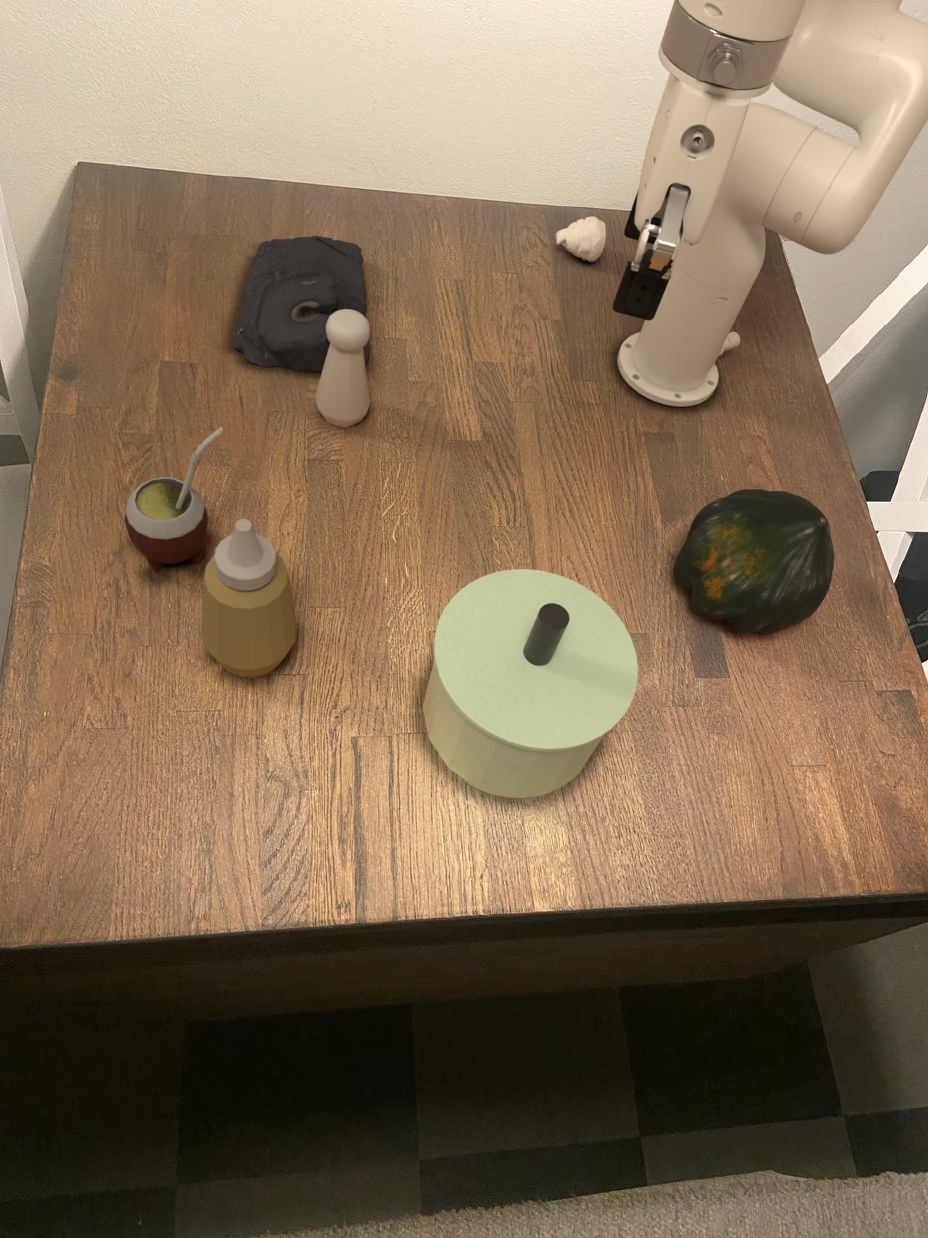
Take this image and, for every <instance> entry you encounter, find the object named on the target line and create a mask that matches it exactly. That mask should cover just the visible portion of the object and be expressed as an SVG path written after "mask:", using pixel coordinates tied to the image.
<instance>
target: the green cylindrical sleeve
mask: <svg viewBox="0 0 928 1238" xmlns="http://www.w3.org/2000/svg"><path fill="white" fill-rule="evenodd" d="M422 712H423V717H424V721H425V727H426V732H427V736H428V740H429V742H430V743H431V745H432V746H433V747H434V749H435V750H436V752H437V753H438V755H439V756H440V758H441V759H442V760H443V762H444V763H445V765H446V767H447V768H448V769H450V771H452V772H454V773H455V774H456V775H458V776H459V777H461V778H462V779H464V780H465V784H468V785H469V786H471V787H472V788H475V789H477V790H478V791H481V792H484V793H486V794H490V795H493V796H496V797H502V798H506V799H507V798H508V799H529V798H535V797H541V796H543V795H547V794H550V793H552V792H555V791H556V790H558V789H560V788H563V787H564V786H565V785H567V784H568V783H570V782H571V781H572V780H573V779H575V778H576V777H578V776H579V774H580V773H581V771H582V770H583V768H584V767H585V765H586V764H587V762H588V761H589V759H590V758H591V756H592V755H593V753H594V751H595V750H596V748H598V745H599V744H600V742H601V741H602V739H603V738H604V736H603V737H601V738H600V739H598V740H596V741H594V742H592V743H590V744H588V745H585V746H582V747H579V748H576V749H570V750H565V751H554V752H544V751H532V750H527V749H522V748H518V747H515V746H512V745H508V744H506V743H503V742H501V741H499V740H497V739H494V738H492V737H491V736H489V735H487V734H486V733H484V732H482V731H481V730H479V729H478V728H477V727H475V726H474V725H473V724H471V723H470V722H469V721H468V720H467V719H466V718H465V717H464V716H463V715H462V714H461V713H460V712H459V711H458V710H457V709H456V707H455V706H454V705H453V704H452V702H451V701H450V699H449V698H448V696H447V694H446V693H445V691H444V689H443V687H442V685H441V683H440V680H439V678H438V674H437V671H436V668H435V662H434V661H433V664H432V667H431V672H430V675H429V679H428V683H427V686H426V691H425V694H424V699H423V703H422Z"/></svg>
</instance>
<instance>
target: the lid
mask: <svg viewBox="0 0 928 1238" xmlns="http://www.w3.org/2000/svg"><path fill="white" fill-rule="evenodd" d="M434 662H435V668H436V671H437V674H438V678H439V680H440V683H441V685H442V687H443V689H444V691H445V693H446V694H447V696H448V698H449V699H450V701H451V702H452V704H453V705H454V706H455V707H456V709H457V710H458V711H459V712H460V713H461V714H462V715H463V716H464V717H465V718H466V719H467V720H468V721H469V722H470V723H471V724H473V725H474V726H475V727H477V728H478V729H479V730H481V731H482V732H484V733H486V734H487V735H489V736H491V737H492V738H494V739H497V740H499V741H501V742H503V743H506V744H508V745H512V746H515V747H518V748H522V749H527V750H532V751H544V752H554V751H565V750H570V749H576V748H579V747H582V746H585V745H588V744H590V743H592V742H594V741H596V740H598V739H600V738H601V737H603V738H604V736H605V735H607V734H608V733H610V732H611V731H612V730H613V729H614V728H615V727H616V726H617V725H618V724H619V723H620V721H621V720H622V719H623V718H624V716H625V715H626V714H627V712H628V711H629V709H630V707H631V704H632V703H633V701H634V698H635V695H636V692H637V688H638V681H639V663H638V656H637V652H636V648H635V645H634V642H633V640H632V637H631V634H630V632H629V631H628V629H627V627H626V626H625V624H624V622H623V620H622V619H621V618H620V617H619V615H618V614H617V612H616V611H615V610H614V609H613V608H612V607H611V606H610V605H609V604H608V603H607V602H606V601H605V600H604V599H602V598H601V597H600V596H599V595H598V594H597V593H595V592H593V591H592V590H591V589H589V588H588V587H586V586H584V585H582V584H581V583H579V582H577V581H575V580H573V579H570V578H568V577H566V576H564V575H560V574H557V573H553V572H551V571H550V572H549V571H544V570H540V569H530V568H513V569H506V570H499V571H495V572H491V573H489V574H485V575H484V576H480V577H479V578H477V579H475V580H473V581H471V582H469V583H468V584H466V585H465V586H463V588H461V589H459V591H458V592H457V593H455V594H454V596H452V597H451V599H450V600H449V601H448V603H447V604H446V605H445V607H444V609H443V610H442V613H441V615H440V617H439V618H438V622H437V625H436V628H435V633H434V638H433V663H434Z"/></svg>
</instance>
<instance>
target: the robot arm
mask: <svg viewBox="0 0 928 1238" xmlns="http://www.w3.org/2000/svg"><path fill="white" fill-rule="evenodd" d="M903 1H904V0H674V1H673V3H672V7H671V10H670V13H669V17H668V18H667V19H668V20H667V23H666V26H665V29H664V32H663V35H662V40H661V41H660V45H659V48H658V51H657V53H658V54H657V56H658V58H659V61H660V62H661V65H662V66H663V67H664V69H665V70H666V71H667V72H669V75H668V78H667V79H666V83H665V87H664V88H663V89H664V90H663V91H662V96H661V99H660V101H659V105H658V108H657V110H656V111H657V112H656V114H655V117H654V121H653V123H652V127H651V130H650V134H649V138H648V141H647V144H646V149H645V153H644V158H643V161H642V167H641V171H640V172H641V173H640V178H639V184H638V189H637V192H636V194H635V196H634V197H635V198H634V199H633V203H632V205H631V209H630V212H629V215H628V218H627V221H626V224H625V227H624V231H623V235H624V237H626V238H628V239H632V240H634V241H637V244H636V247H635V251H634V255H633V258H632V261H630V260H628V261H627V264H626V266H625V269H624V271H623V274H622V278H621V280H620V283H619V285H618V289H617V290H616V293H615V297H614V300H613V302H612V303H613V304H612V310H613V312H615V313H618V314H622V315H626V316H628V317H633V318H637V319H641V320H644V322H643V324H642V327H641V329H640V331H639V332H636V333H633V334H631V335H630V336H628V337H627V338H626V339H625V340H624V341H623V342H622V343H621V345H620V348H619V351H618V353H617V358H616V361H617V367H618V370H619V373H620V375H621V377H622V379H624V381H625V382H626V383H627V384H628V385H629V386H630V387H631V388H632V389H633V390H634V391H636V392H637V393H638V394H640V395H641V396H643V397H645V398H646V399H648V400H651V401H652V402H655V403H657V404H661V405H664V406H671V407H679V408H681V407H692V406H696V405H700V404H702V403H704V402H705V401H707V400H708V399H709V398H710V397H712V395H713V394H714V392H715V390H716V388H717V386H718V383H719V377H720V376H719V371H718V366H717V365H716V362H717V359H718V357H720V356H722V355H723V353H724V352H727V351H729V350H732V349H734V348H737V347H738V346H739V345H740V344H741V337H740V335H739V333H737V332H736V331H731V329H732V327H733V325H734V323H735V322H736V320H737V317H738V315H739V314H740V312H741V309H742V308H743V305H744V303H745V302H746V299H747V298H748V296H749V293H750V292H751V289H752V287H753V285H754V283H755V282H756V280H757V278H758V276H759V273H760V271H761V270H762V267H763V264H764V261H765V255H766V248H767V247H766V244H767V243H766V232H765V231H766V230H765V228H766V229H767V230H769V231H771V232H774V233H776V234H778V235H780V236H782V237H784V238H786V239H787V240H790V241H791V242H793V243H795V244H798V245H799V246H802V247H804V248H806V249H808V250H811V251H813V252H815V253H818V254H820V255H821V254H822V255H835V254H838V253H840V252H842V251H844V250H845V249H846V248H847V247H849V246H850V244H851V243H852V242H853V241H854V240H855V238H856V237H857V236H858V235H859V234H860V233H861V230H862V229H863V228H864V226H865V225H866V223H867V221H868V220H869V218H870V216H871V215H872V213H873V212H874V210H875V209H876V207H877V205H878V203H879V202H880V200H881V199H882V197H883V195H884V193H885V192H886V190H887V188H888V187H889V185H890V183H891V182H892V180H893V178H894V177H895V175H896V174H897V172H898V170H899V169H900V168H901V167H900V166H901V165H902V163H903V162H904V161H905V158H906V157H907V155H908V153H909V151H910V150H911V148H912V147H913V145H914V143H915V141H916V140H917V138H918V137H919V135H920V134H921V132H922V130H923V128H924V127H925V125H926V124H927V122H928V23H927V22H924V21H922V20H920V19H917V17H916V18H915V17H914V16H911V15H908V14H907V13H904V12H902V11H900V7H901V6H902V5H901V4H902V2H903ZM772 85H773V86H774V87H775V88H776V89H777V90H779V91H780V92H781V93H782V94H783V95H785V96H786V97H788V98H789V99H791V100H793V101H795V102H797V103H799V104H800V105H803V106H805V107H807V108H809V109H811V110H812V111H815V112H817V113H819V114H821V115H823V116H825V117H828V118H830V119H832V120H834V121H837V122H838V123H840V124H843V125H845V126H847V127H849V128H851V129H852V130H854V131H855V132H856V133H857V135H858V138H859V143H858V145H855V144H853V143H851V142H849V141H845V139H842V138H840V137H838V136H835V135H834V134H831V133H829V132H827V131H825V130H823V129H822V128H819V127H818V126H816V125H814V124H813V123H810V122H808V121H805V120H804V119H802V118H799V117H797V116H795V115H793V114H791V113H789V112H787V111H785V110H783V109H780V108H777V107H774V106H772V105H768V104H765V103H760V102H751V100H752V98H757V97H760V96H763V95H764V94H766V93H767V92H768V91H769V90H770V88H771V86H772ZM648 244H649V245H652V246H653V247H652V248H648V249H647V245H648ZM646 249H647V250H646ZM730 331H731V332H730Z"/></svg>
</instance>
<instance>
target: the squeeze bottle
mask: <svg viewBox="0 0 928 1238" xmlns="http://www.w3.org/2000/svg"><path fill="white" fill-rule="evenodd" d="M202 593H203V595H202V610H201V612H202V613H201V630H200V631H201V632H200V635H201V638H202V641H203V644H204V647H205V649H206V651H207V652H208V653H209V654H210V655H211V656H212V657H213V658H214V659H215V660H216V662H218V664H220V665H221V666H222V668H223V669H225V670H226V671H227V672H228V673H230V674H233V675H235V676H237V677H239V678H240V677H241V678H258V677H261V676H264V675H268V674H269V673H271V672H272V671H274V670H275V669H277V667H279V665H280V664H281V663H282V661H283V660H284V659H285V658H286V656H287V655H288V653H289V651H290V650H291V648H292V647H293V645H294V644H295V642H296V640H297V639H296V637H297V626H298V625H297V618H296V612H295V606H294V599H293V594H292V593H293V592H292V587H291V582H290V576H289V570H288V568H287V566H286V564H285V561H284V559H283V558H282V556H280V555H279V554H278V553H277V552H276V549H275V547H274V544H273V543H271V541H270V540H269V539H267V538H266V537H265V536H263V535H260V534H258V533H256V532H255V530H254V527H253V523H252V522H251V521H250V520H249V519H246V518H241V519H238V520H237V521H236V522H235V525H234V528H233V532H232V534H229V535H228V536H226V537H225V538H223V539H221V540H220V542H219V543H218V545H217V546H216V547H215V549H214V554H213V555H212V556H211V558H210V559H209V561H208V562H207V564H205V571H204V576H203V592H202Z"/></svg>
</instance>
